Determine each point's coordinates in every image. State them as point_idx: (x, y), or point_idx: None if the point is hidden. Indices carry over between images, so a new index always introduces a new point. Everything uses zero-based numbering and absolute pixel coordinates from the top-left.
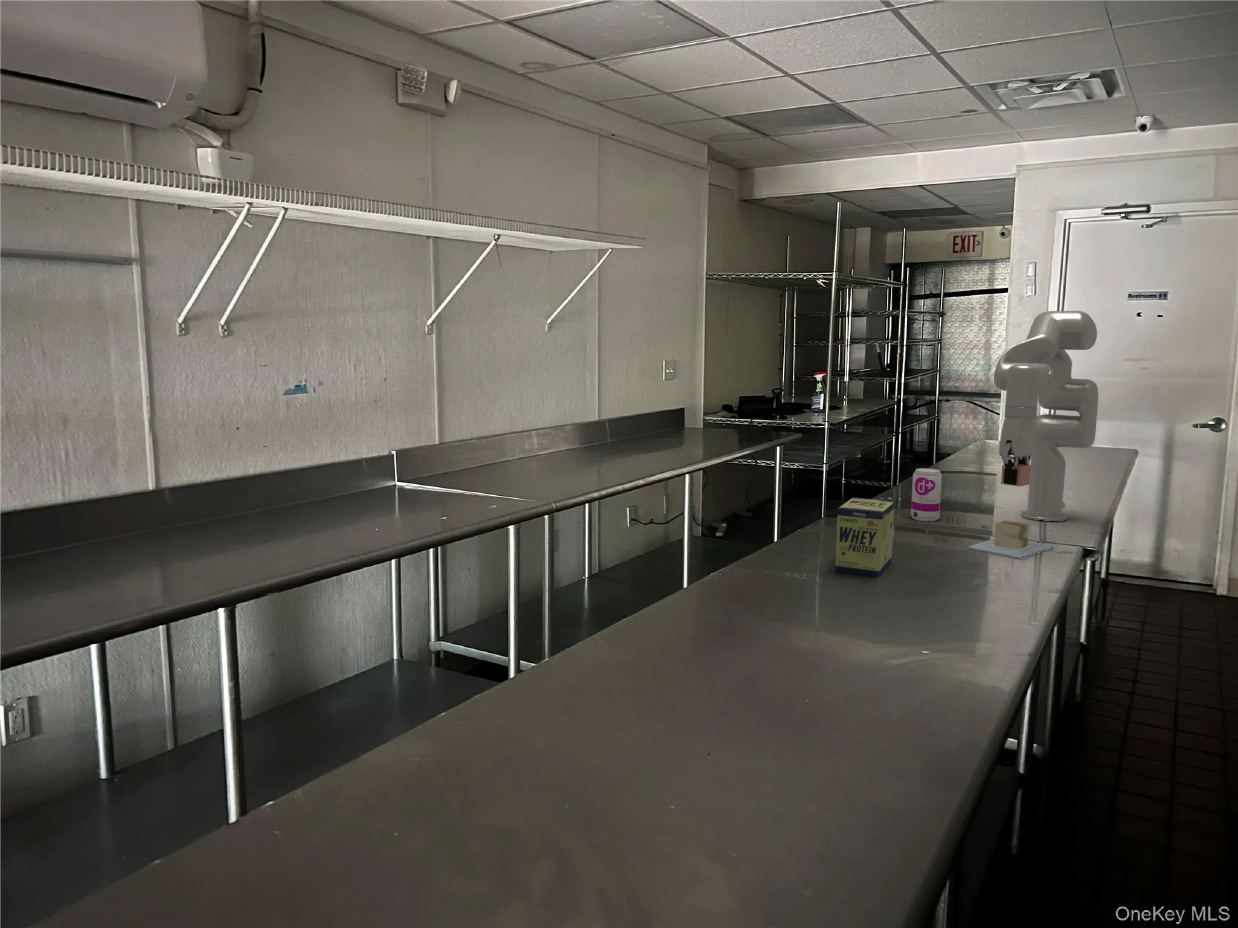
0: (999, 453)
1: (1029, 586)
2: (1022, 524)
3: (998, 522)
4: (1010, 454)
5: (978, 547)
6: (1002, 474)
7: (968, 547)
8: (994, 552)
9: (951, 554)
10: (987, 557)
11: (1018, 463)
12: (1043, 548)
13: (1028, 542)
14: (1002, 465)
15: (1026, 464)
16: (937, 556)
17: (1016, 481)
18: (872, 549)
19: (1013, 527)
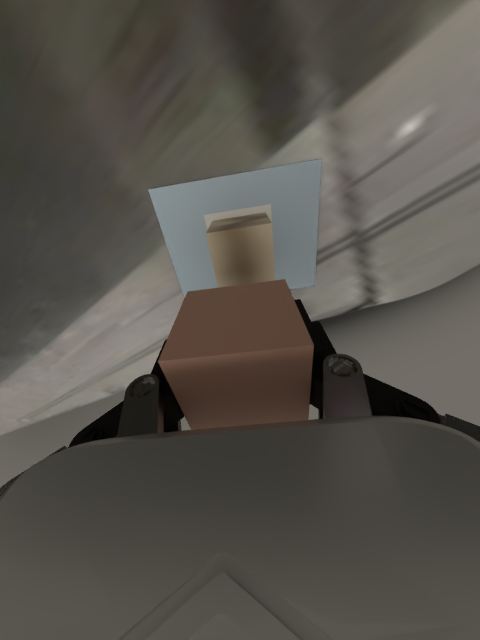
0: (9, 488)
1: (95, 373)
2: (256, 279)
3: (222, 230)
4: (292, 423)
5: (166, 211)
6: (178, 322)
7: (149, 191)
8: (171, 256)
9: (77, 205)
10: (141, 262)
11: (322, 379)
12: None
13: (307, 242)
14: (160, 358)
15: (318, 414)
16: (33, 200)
17: None
18: None
19: (217, 280)
